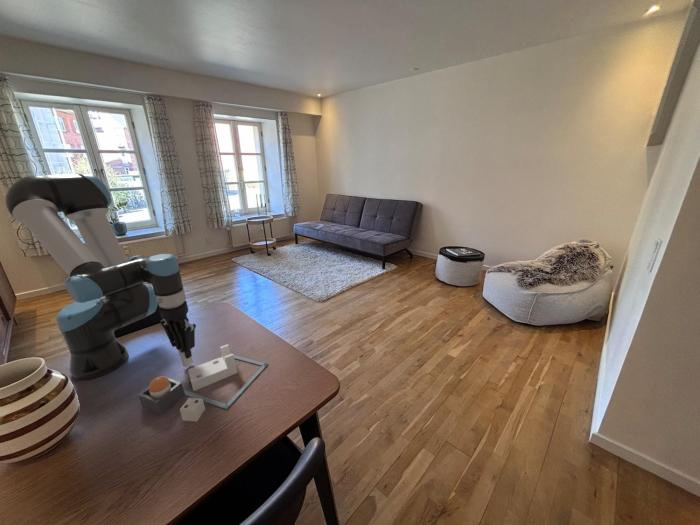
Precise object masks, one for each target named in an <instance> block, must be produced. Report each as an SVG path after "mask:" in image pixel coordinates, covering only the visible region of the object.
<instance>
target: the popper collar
mask: <svg viewBox="0 0 700 525" xmlns="http://www.w3.org/2000/svg"><path fill="white" fill-rule="evenodd" d="M165 377H166V376H165ZM166 378H168V379H169V381H170V385H171V389H170V390H169V391H168V392H166V393H165V394H164V395H163V396H161V397H160V398H159V399H156V398H153V397H151V395H150V392H149V386H147V388H145V389H144V390H142V391H141V392H139V394H137V397H138V399H139V402H140V405H141V407H142V410H146V411H148V412H151V413H154V414H156V415H159V416H160V417H163V416H164V415H165V414H166V413H167V412H168V411H169V410H171V409H172V408H173V407H174V406H175V405H176V404H178V403H179V402H180V401H181V400H182V399H183V398H184V397H186V395H185V392H184V390H185V389H184V386H183V382H182V381H179V380H177V379H173V378H171V377H166Z"/></svg>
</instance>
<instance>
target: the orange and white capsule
mask: <svg viewBox="0 0 700 525" xmlns="http://www.w3.org/2000/svg"><path fill="white" fill-rule="evenodd" d="M168 378H169V377H167V378H166V376H164V375H163V376H162V375H160V376H157V377H154V378H153V379H152V380H151V381H150V383H149V385H148V387H149V392H150V395H151V397H153V398H156V399H159V398H160V397H161V396H163V395H164V394H165V393H166V392H168V391H169V390H170V389H171V385H170V381H169V379H168Z"/></svg>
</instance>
